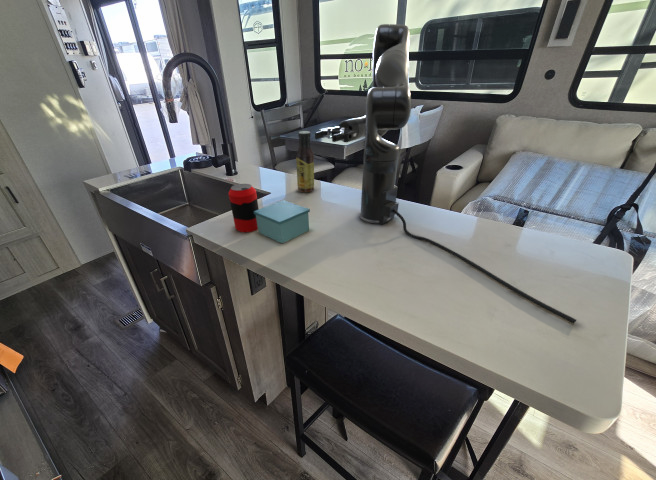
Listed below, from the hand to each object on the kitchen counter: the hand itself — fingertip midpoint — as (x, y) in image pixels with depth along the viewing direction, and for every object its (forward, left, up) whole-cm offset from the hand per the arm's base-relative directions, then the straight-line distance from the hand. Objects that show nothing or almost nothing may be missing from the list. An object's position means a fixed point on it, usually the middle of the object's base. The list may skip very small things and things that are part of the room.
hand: (324, 137), depth 112 cm
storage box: (-20, +39, -16) cm, 46 cm away
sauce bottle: (0, +10, -17) cm, 20 cm away
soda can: (-9, +44, -17) cm, 48 cm away
